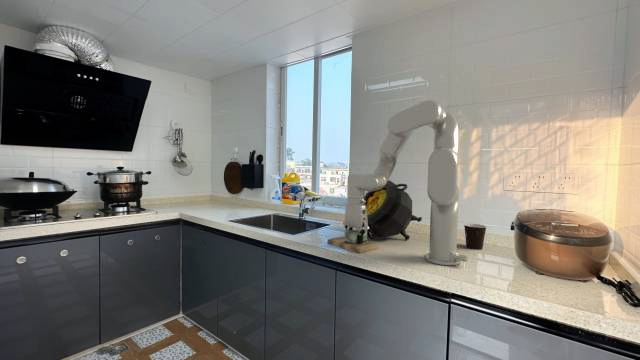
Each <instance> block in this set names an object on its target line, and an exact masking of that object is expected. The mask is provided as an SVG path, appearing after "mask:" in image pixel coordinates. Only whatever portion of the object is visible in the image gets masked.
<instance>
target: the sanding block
mask: <svg viewBox="0 0 640 360" xmlns="http://www.w3.org/2000/svg"><path fill="white" fill-rule="evenodd" d="M360 230H361V229H360ZM357 235H359V234H358V229H357V228H355V229H353V230H349V231H346V230H345V231H344V236H345V243H348V244H351V245H355V244H357ZM367 241H368V236H367V231H366V232H365V234H364V235H363V242H367Z"/></svg>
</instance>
